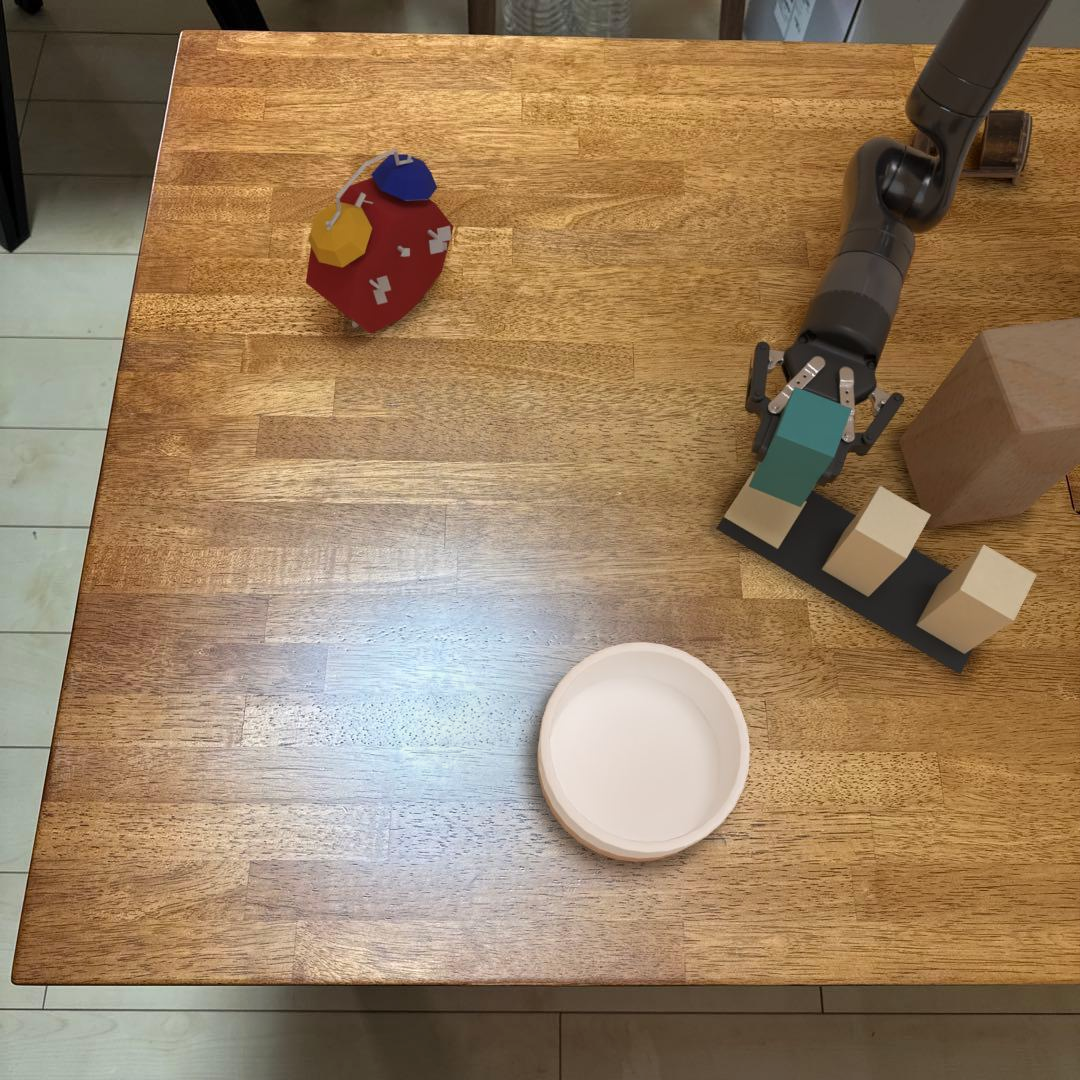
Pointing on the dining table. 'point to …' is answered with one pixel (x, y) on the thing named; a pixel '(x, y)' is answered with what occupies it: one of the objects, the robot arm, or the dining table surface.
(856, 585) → the cream block
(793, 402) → the teal block
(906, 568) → the mat
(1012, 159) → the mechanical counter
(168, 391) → the dining table surface
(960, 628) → the cream block
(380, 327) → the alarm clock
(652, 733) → the bowl
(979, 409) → the wooden block
